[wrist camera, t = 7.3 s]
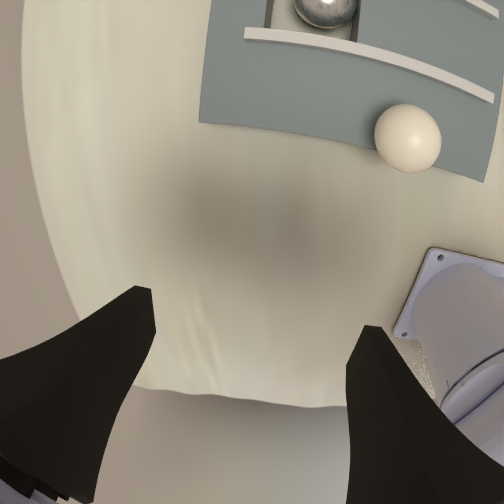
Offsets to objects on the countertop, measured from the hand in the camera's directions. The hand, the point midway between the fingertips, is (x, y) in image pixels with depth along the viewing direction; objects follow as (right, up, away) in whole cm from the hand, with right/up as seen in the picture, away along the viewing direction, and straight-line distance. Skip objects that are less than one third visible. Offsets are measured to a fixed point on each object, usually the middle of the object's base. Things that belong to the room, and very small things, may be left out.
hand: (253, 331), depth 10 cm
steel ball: (+4, +15, +1) cm, 16 cm away
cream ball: (+7, +8, +2) cm, 11 cm away
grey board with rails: (+6, +16, +2) cm, 17 cm away
